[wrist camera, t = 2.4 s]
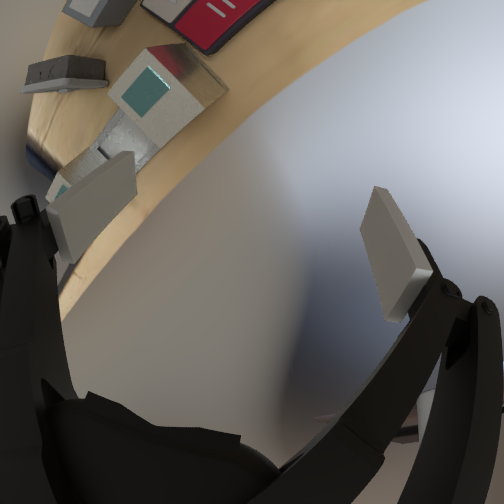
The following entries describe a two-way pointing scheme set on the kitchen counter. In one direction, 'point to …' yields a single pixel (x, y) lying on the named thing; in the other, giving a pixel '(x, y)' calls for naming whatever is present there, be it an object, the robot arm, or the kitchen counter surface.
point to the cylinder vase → (424, 410)
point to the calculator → (206, 19)
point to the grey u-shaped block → (147, 109)
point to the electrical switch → (64, 75)
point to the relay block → (99, 11)
